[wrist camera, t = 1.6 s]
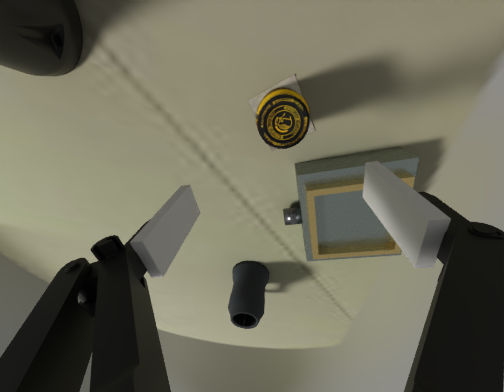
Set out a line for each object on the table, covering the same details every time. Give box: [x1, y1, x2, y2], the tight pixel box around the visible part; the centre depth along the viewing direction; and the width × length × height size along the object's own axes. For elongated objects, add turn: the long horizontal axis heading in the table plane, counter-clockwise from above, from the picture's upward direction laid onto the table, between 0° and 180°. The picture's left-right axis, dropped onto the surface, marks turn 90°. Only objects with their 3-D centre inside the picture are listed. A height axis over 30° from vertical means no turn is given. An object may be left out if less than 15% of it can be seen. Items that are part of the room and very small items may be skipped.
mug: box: [228, 261, 269, 329], centre depth 45 cm, size 12×9×11 cm
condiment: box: [248, 74, 315, 151], centre depth 25 cm, size 7×8×12 cm
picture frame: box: [283, 147, 419, 261], centre depth 34 cm, size 18×19×6 cm
